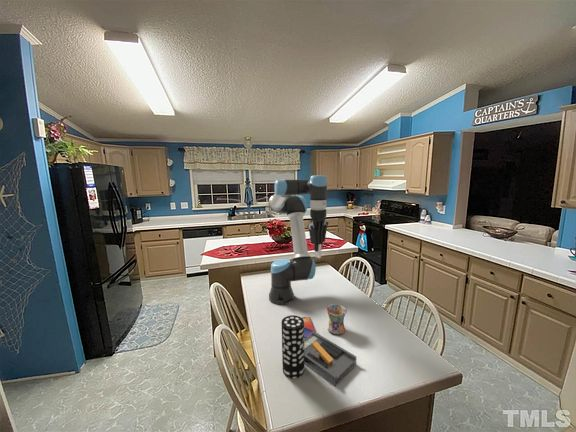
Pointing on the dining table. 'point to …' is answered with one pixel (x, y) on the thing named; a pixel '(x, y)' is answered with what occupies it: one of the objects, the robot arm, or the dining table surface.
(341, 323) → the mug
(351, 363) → the dark grey tray
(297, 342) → the spotted tube
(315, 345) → the orange rectangular bar
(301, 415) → the dining table surface
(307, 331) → the smartphone
